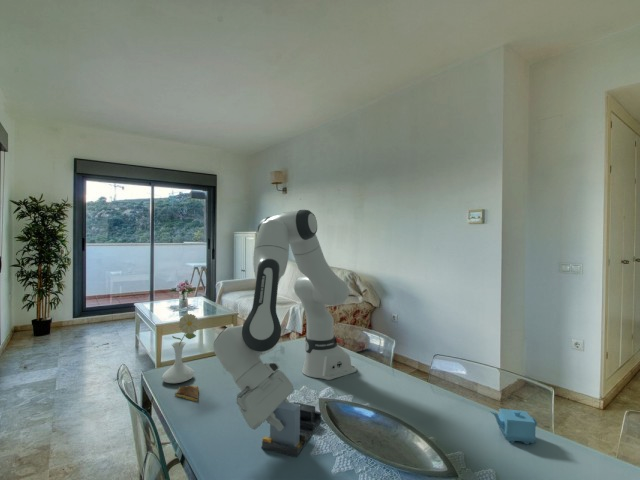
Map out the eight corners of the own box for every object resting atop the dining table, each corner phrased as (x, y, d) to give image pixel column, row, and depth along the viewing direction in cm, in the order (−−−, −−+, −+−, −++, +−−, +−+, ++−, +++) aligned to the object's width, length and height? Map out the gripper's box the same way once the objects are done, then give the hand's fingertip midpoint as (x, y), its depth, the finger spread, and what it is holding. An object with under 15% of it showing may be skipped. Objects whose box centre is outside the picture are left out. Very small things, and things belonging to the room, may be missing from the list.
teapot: (492, 441, 93) (493, 414, 92) (486, 429, 98) (486, 403, 98) (541, 447, 90) (541, 419, 90) (531, 434, 96) (532, 408, 96)
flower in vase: (162, 388, 121) (163, 319, 120) (161, 376, 131) (161, 312, 130) (200, 382, 127) (201, 315, 126) (196, 371, 137) (197, 309, 136)
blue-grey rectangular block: (269, 443, 89) (270, 406, 89) (276, 436, 92) (276, 400, 92) (294, 449, 87) (294, 411, 87) (299, 441, 90) (300, 404, 90)
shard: (198, 403, 112) (198, 398, 112) (173, 407, 109) (173, 401, 109) (198, 389, 122) (198, 384, 122) (175, 392, 120) (175, 387, 119)
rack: (261, 448, 88) (261, 431, 88) (291, 412, 106) (291, 398, 106) (296, 457, 85) (296, 439, 84) (321, 418, 102) (321, 404, 102)
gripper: (241, 389, 82) (277, 438, 79) (279, 360, 101) (309, 398, 98) (225, 404, 83) (260, 453, 80) (265, 373, 103) (294, 411, 100)
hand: (287, 422), depth 89 cm, fingers open, 4 cm apart
